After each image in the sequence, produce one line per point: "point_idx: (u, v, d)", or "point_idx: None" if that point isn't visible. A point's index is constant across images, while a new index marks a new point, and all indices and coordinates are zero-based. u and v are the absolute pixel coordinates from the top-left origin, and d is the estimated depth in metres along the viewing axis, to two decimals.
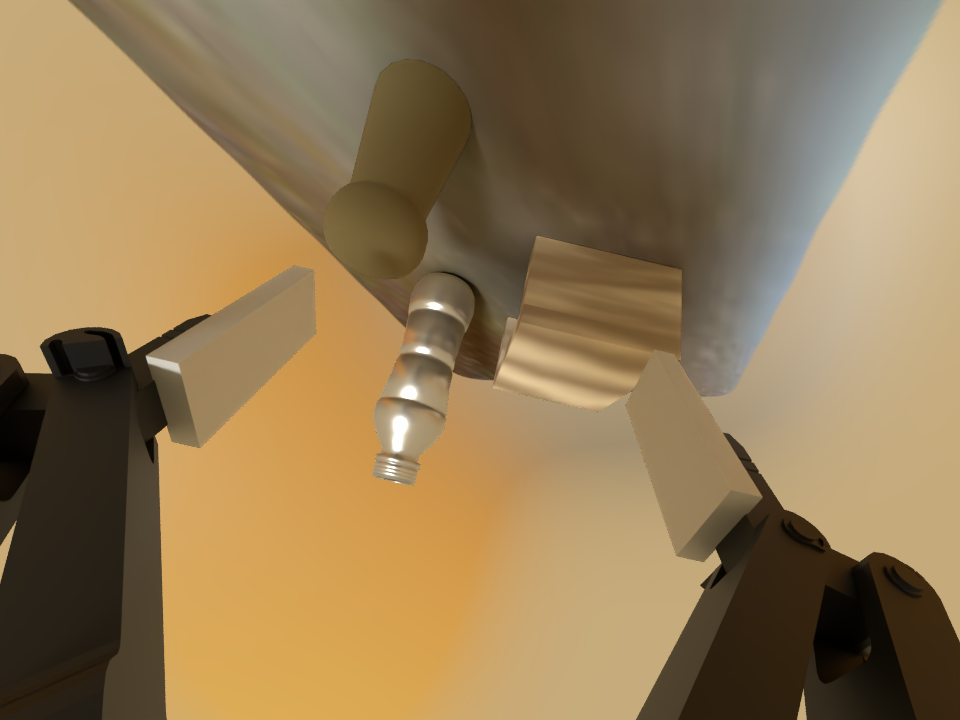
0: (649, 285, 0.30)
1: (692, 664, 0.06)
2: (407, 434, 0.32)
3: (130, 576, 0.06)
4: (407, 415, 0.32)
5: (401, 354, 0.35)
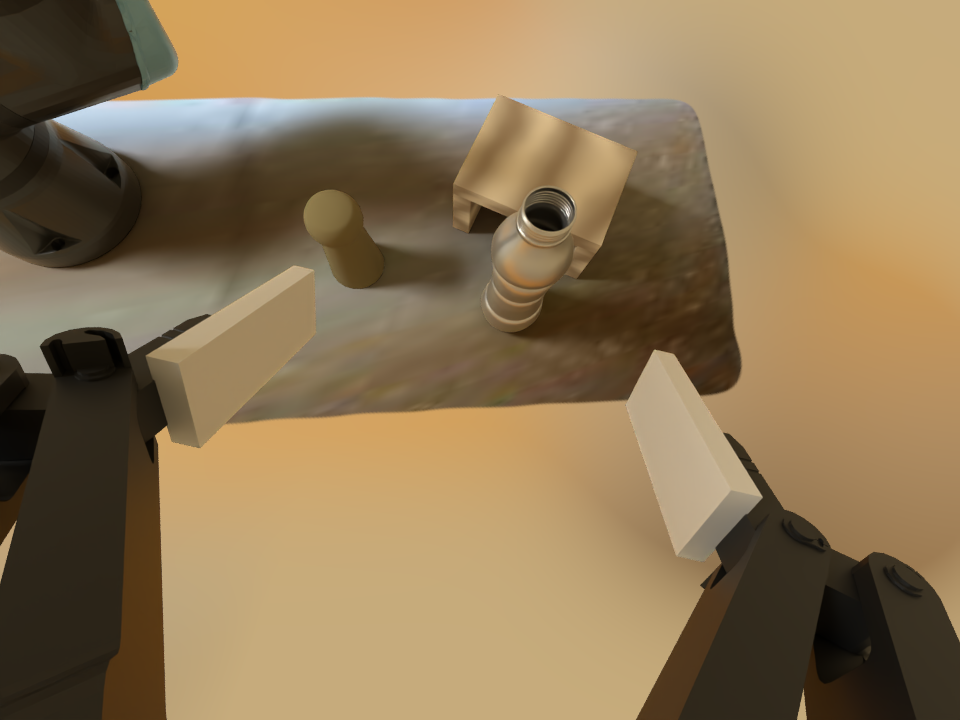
0: None
1: (692, 664, 0.06)
2: (509, 219, 0.29)
3: (130, 576, 0.06)
4: (497, 229, 0.31)
5: (498, 291, 0.36)
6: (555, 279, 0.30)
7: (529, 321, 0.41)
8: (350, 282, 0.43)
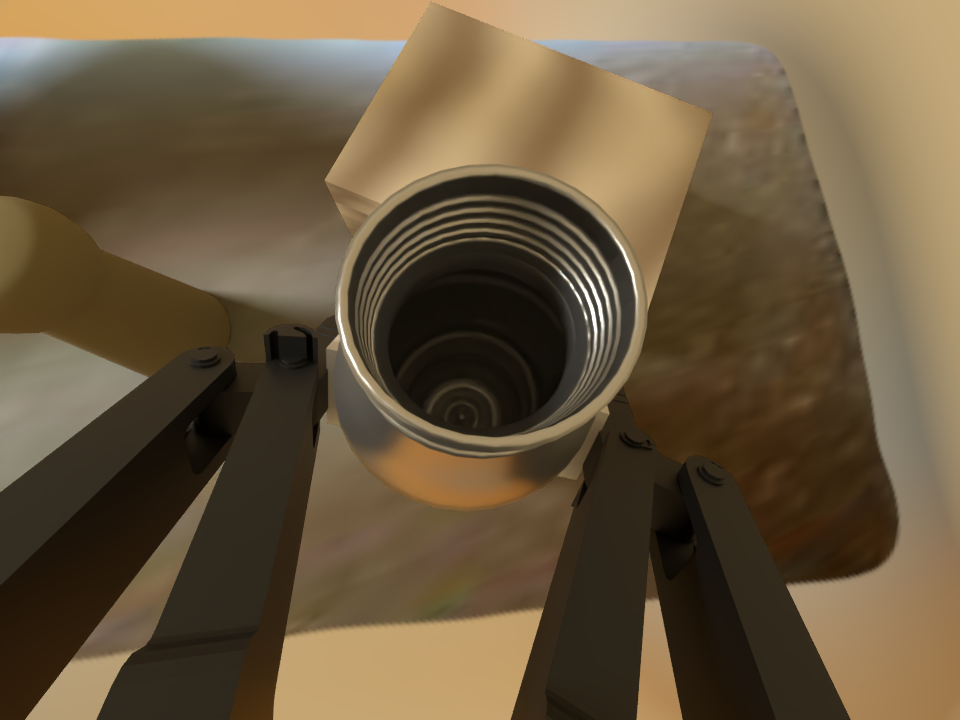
0: None
1: (566, 582, 0.07)
2: None
3: (279, 555, 0.06)
4: None
5: None
6: (541, 486, 0.09)
7: None
8: (150, 375, 0.22)
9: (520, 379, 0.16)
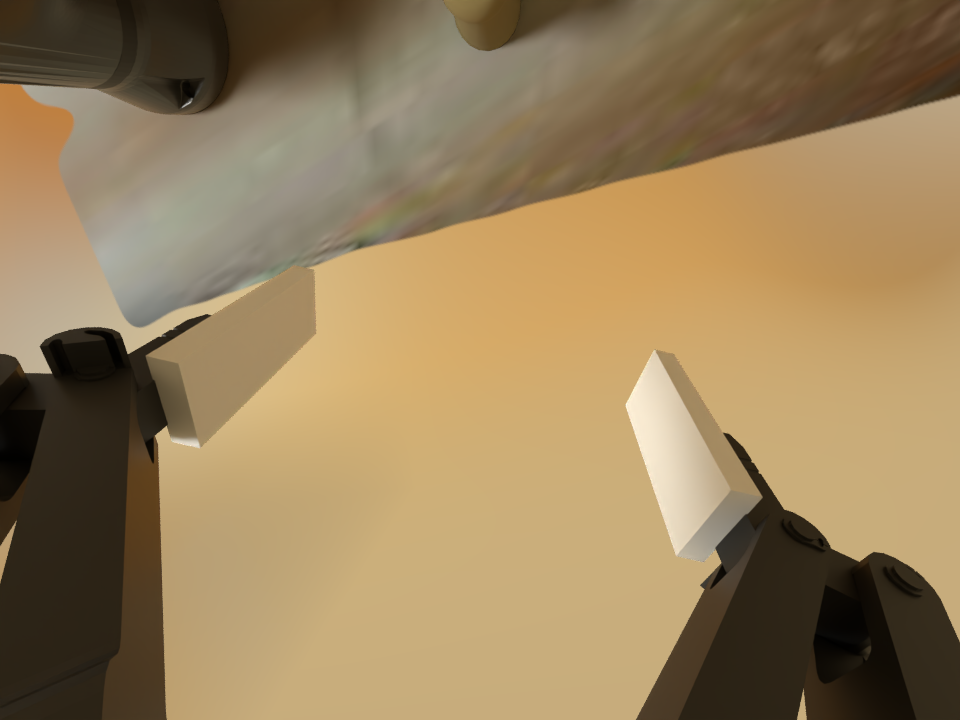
0: None
1: (692, 664, 0.06)
2: None
3: (130, 576, 0.06)
4: None
5: None
6: None
7: None
8: (487, 45, 0.35)
9: None
